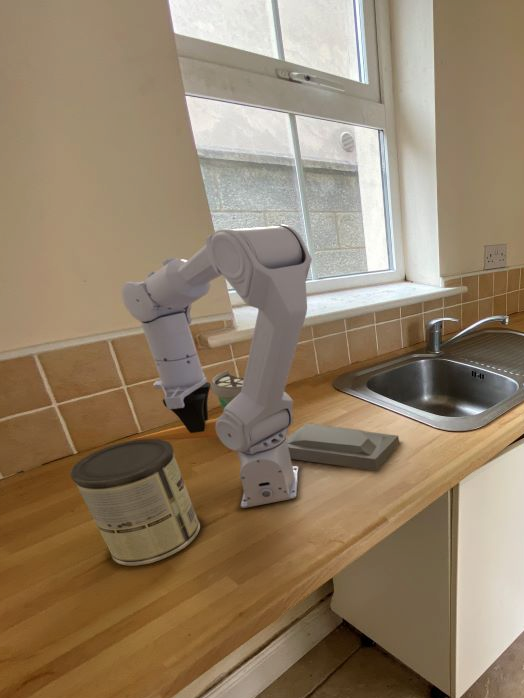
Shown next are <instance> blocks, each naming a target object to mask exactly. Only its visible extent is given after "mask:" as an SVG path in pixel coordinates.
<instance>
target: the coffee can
mask: <svg viewBox="0 0 524 698" xmlns="http://www.w3.org/2000/svg"><path fill="white" fill-rule="evenodd" d="M69 476H70V477H71V479H72V481H73V482H74V483H75V484H76V487H77V489H78V491H79V493H80V495H81V497H82V498H83V501H84V503H85V504H86V507H87V508H88V511H89V512H90V515H91V516H92V518H93V520H94V522H95V525H96V526H97V528H98V531H99V532H100V534H101V536H102V539H103V540H104V542H105V544H106V547H107V548H108V550H109V552H110V554H111V559H112V560H113V561H114V562H115V563H117V564H118V565H122V566H129V567H137V566H142V565H149V564H152V563H155V562H159V561H161V560H164V559H167V558H168V557H171V556H173V555H174V554H176V553H178V552H180V551H182V550H184V549H185V548H186V547H188V546H189V545H190V544H191V543H192V542H193V541H194V540H195V539H196V538H197V536H198V534H199V532H200V529H201V523H200V520H199V519H198V516H197V514H196V512H195V509H194V506H193V503H192V500H191V497H190V495H189V492H188V489H187V487H186V484H185V480H184V478H183V476H182V473H181V471H180V468H179V464H178V462H177V459H176V456H175V453H174V448H173V445H172V444H171V442H169V441H167V440H165V439H164V440H159V439H142V440H129V441H124V442H120V443H116V444H113V445H109V446H107V447H104V448H102V449H99V450H96V451H94V452H92V453H90V454H89V455H87V456H85V457H83V458H82V459H80V460H78V461H77V462H76V463H75V465H73V467H72V468H71V470H70V475H69Z"/></svg>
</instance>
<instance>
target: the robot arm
mask: <svg viewBox="0 0 524 698" xmlns="http://www.w3.org/2000/svg"><path fill="white" fill-rule="evenodd" d="M312 260H313V258H312V256H311V254H310V252H309V250H308V248H307V246H306V244H305V242H304V240H303V238H302V237H301V235H300V234H299V232H297V230H296V229H295V228H293V227H292V226H289V225H287V224H277V225H274V226H262V227H249V228H235V229H234V228H233V229H231V228H220V229H219V228H218V229H217V230H215V231H214V232H213V233H212V234H210V235H207V236H206V237H205V244H204V245H203V246H202V247H201V248H200V249H199V250H197V252H196V253H195V254H193V255H192V256H191V257H190V258H189V259H185V258H183V259H182V258H177V257H171V258H165V259H164V260H162V261H161V264H162V265H163V266H162V267H160V268H159V269H158V270H156V271H150V272H149V273H148V274H147V278H146V279H144V280H143V281H137V282H136V281H126V282H125V283H124V285H123V286H122V288H121V299H122V301H123V304H124V306H125V308H126V310H127V312H128V313H129V314H130V315H131V316H132V317H133V318H134V319H135V320H137V321H139V322H140V325H141V327H142V330H143V333H144V336H145V339H146V342H147V345H148V347H149V350H150V351H149V352H150V353H151V357H152V359H153V362H154V364H155V367H156V370H157V373H158V377H159V379H160V380H155V381H154V383H153V384H152V386H153V388H154V389H155V390H157V389H158V390H159V389H160V390H162V391H163V394H164V397H163V398H162V403H163V405H164V407H165V408H167V410H170V411H171V412H172V413H174V415H176V417H178V419H179V420H180V421H181V423H182V424H183V426H184V425H185V427H186V428H187V429H188V431H189V432H190V433H196V432H203V431H204V430H205V421H206V420H209V409H208V400H209V394H210V390H211V387H212V384H211V382H209V381H208V379H207V377H206V376H207V375H205V373H204V371H203V367H202V364H201V361H200V357H199V355H198V351H197V347H196V343H195V341H194V338H193V335H192V332H191V328H190V325H191V324H192V321H193V320H192V317H191V309H192V304H193V303H195V302H197V301H198V300H199V299H201V298H203V297H204V296H206V295H207V294H208V293H209V291H210V289H211V281H213V280H215V279H217V278H219V277H221V276H223V277H224V279H225V280H226V281H227V282H228V284H229V285H230V286H231V287H232V288H233V290H234V291H235V292H236V293H237V295H238V296H239V298H240V299H241V300H242V301H243V302H244V303H245V305H247V306H249V307H252V308H254V309H257V310H258V312H257V315H256V321H255V325H254V329H253V335H252V338H251V344H250V347H249V352H248V358H247V362H246V365H245V371H244V376H243V378H244V380H243V385H242V389H241V392H240V393H239V394H238V395H237V396H236V397H235V398H234V399H233V400H232V401H231V402H230V403H229V404H228V405H227V406H226V407H225V408H224V411H223V412H222V414H221V415H220V416H219V417H217V418H218V419H217V421H216V433H217V435H218V437H217V438H218V439H219V441H220V442H221V443H222V445H224V446H225V447H226V448H228V449H229V450H231V451H234V452H236V453H237V457H238V460H239V463H240V470H239V480H240V482H241V486H242V489H243V494H242V497H241V501H240V508H242V509H246V508H251V507H257V506H263V505H267V504H272V503H277V502H282V501H283V502H284V501H288V500H294V499H296V498H297V494H298V482H299V470H300V469H299V466H297V465H295V466H293V462H292V460H291V458H290V453H289V449H288V444H287V440H286V438H287V435H289V434H290V431H289V427H291V426H292V424H293V422H294V413H293V406H294V405H293V404H294V399H292V398H291V396H290V395H289V394H288V393H287V392H286V391H285V390H286V387H287V382H288V380H289V375H290V372H291V369H292V366H293V361H294V359H295V354H296V351H297V348H298V344H299V340H300V338H301V335H302V330H303V326H304V323H305V320H306V316H307V312H308V298H307V297H308V296H307V279H308V275H309V272H310V269H311V265H312Z"/></svg>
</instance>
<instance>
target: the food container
mask: <svg viewBox="0 0 524 698" xmlns="http://www.w3.org/2000/svg"><path fill="white" fill-rule="evenodd" d="M243 380H244V377H238V376H234V375H231V374H230V371H229V370H225V371H222V372H220V373H218V374H217V375H215V376H214V377H213V378H212V382H211V393H212V394H214V395H215V396H217V398H218V400H219V402H220V405H221V408H222V411H223V412H224V408H225V407H226V406H227V405H228V404H229V403H230V402H231V401H232V400H233V399H234V398H235V397H236V396H237V395H238V394H239V393H240V392H241V389H242V385H243Z"/></svg>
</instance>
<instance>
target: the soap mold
mask: <svg viewBox="0 0 524 698" xmlns="http://www.w3.org/2000/svg"><path fill="white" fill-rule="evenodd" d="M286 440H287V444H288V449H289V453H290V458H291V459H293V460H298V461H305V462H311V463H320V464H326V465H334V466H340V467H347V468H354V469H361V470H362V469H363V470H369V471H378V470H379V469H380V467H381V466H382V465H383V463H384V462H386V460H387V459H388V457H389V456H390V455H391V454H392V453H393V451H394V450H395V449H396V448H397V446H399V444H400V438H399V435H397V434H390V433H389V434H388V433H381V432H373V431H365V430H361V429H356V428H347V427H341V426H332V425H324V424H319V423H318V424H317V423H306V424H304V425H302V426H301V427H300V428H298V429H296V430H295V431H293V432H292V433H291V434H290V435H289V436H286Z"/></svg>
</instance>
